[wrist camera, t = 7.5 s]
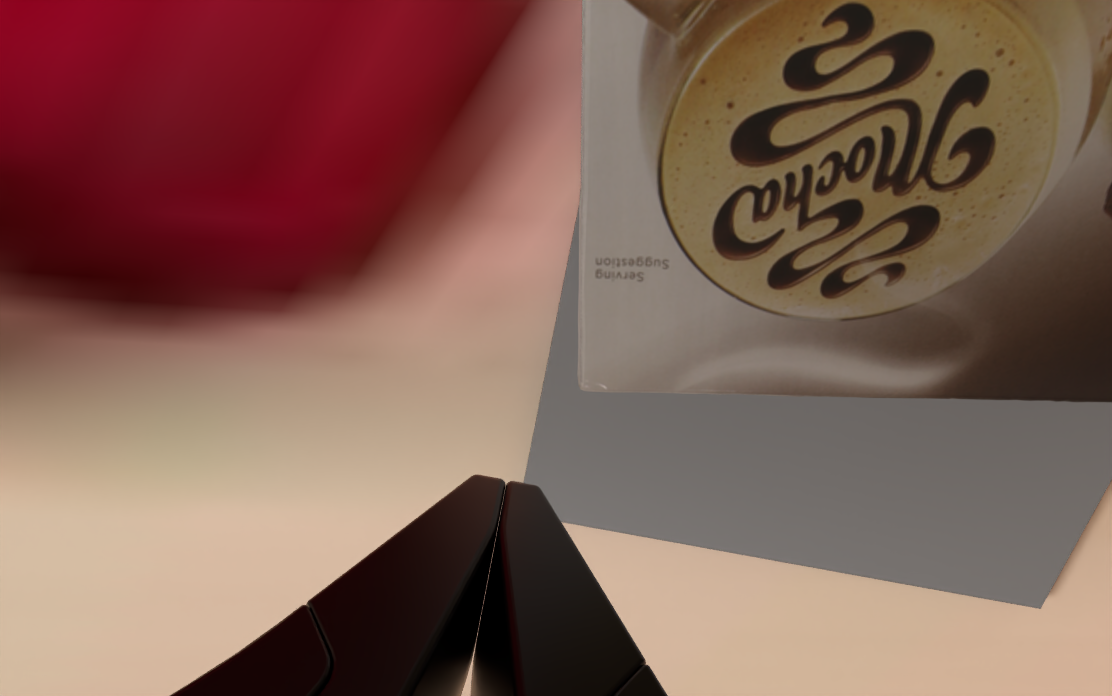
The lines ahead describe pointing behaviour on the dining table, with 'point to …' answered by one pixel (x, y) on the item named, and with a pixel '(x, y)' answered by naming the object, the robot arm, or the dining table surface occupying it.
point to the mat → (827, 475)
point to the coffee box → (847, 198)
